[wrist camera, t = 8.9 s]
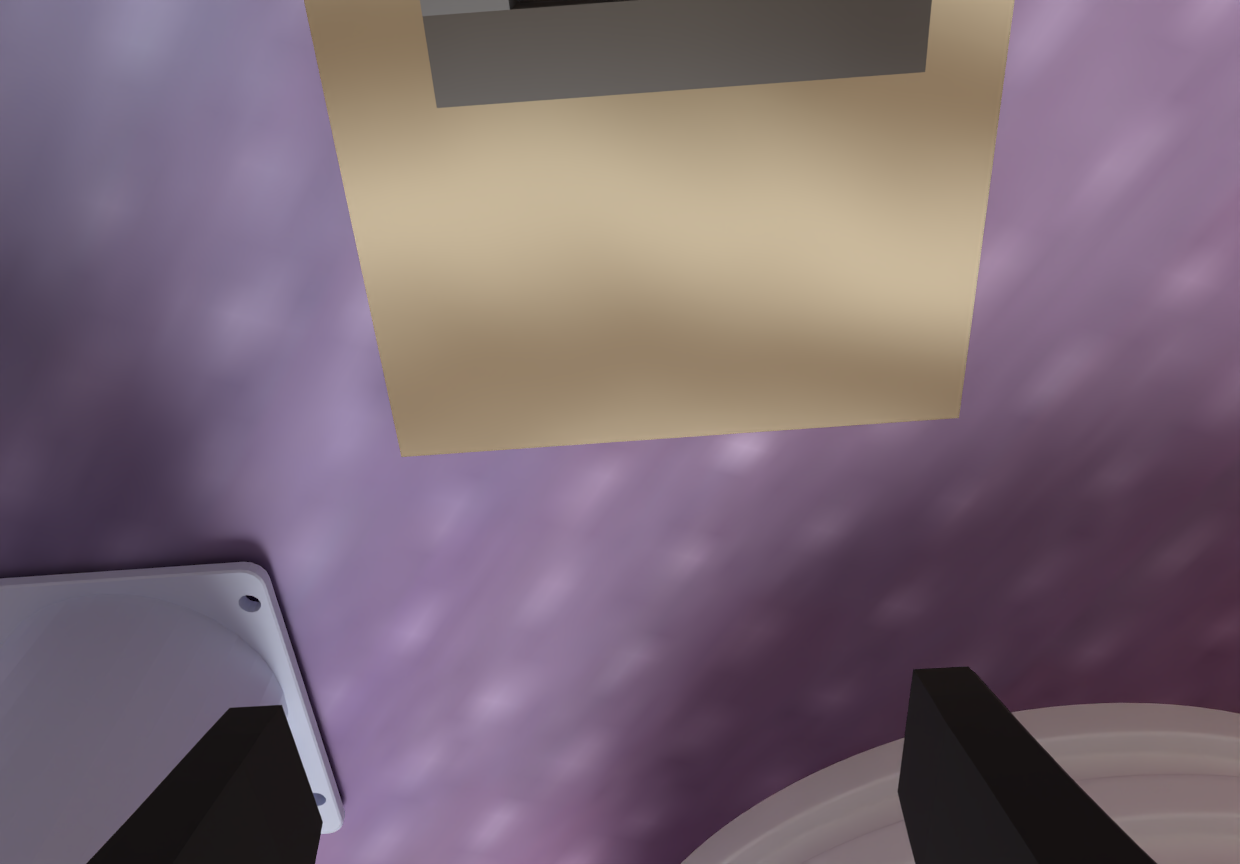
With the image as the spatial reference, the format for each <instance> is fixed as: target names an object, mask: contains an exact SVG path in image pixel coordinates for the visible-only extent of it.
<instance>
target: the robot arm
mask: <svg viewBox="0 0 1240 864" xmlns="http://www.w3.org/2000/svg"><path fill="white" fill-rule="evenodd" d="M245 595H250V596H254V597H256V598H257V599H258V600H259V602H256V601H251V600H250V599H248V598H247V597H246V596H245ZM319 793H320V794H319ZM898 796H899V800H900V804H901V809H902V813H903V817H904V821H905V825H906V829H907V833H908V837H909V842H910V845H911V849H912V853H913V857H914V861H915V864H1157V863H1156V862H1155V861H1154V860H1153V859H1152V858H1151V857H1150V856H1149V855H1148V854H1147V853H1146V852H1145V851H1144V850H1142V849H1141V848H1140V847H1139V846H1138V845H1137V844H1136V843H1135V842H1134V841H1133V840H1132V839H1131V838H1130V837H1129V836H1128V835H1127V834H1126V833H1125V832H1124V831H1123V830H1122V829H1121V828H1120V827H1119V826H1118V825H1117V824H1116V823H1115V822H1114V821H1113V820H1112V819H1111V818H1110V817H1109V816H1108V815H1107V814H1106V813H1105V812H1104V811H1103V810H1102V808H1101V807H1100V806H1099V805H1098V804H1097V803H1096V802H1095V801H1094V800H1093V799H1092V798H1091V797H1090V796H1089V795H1088V794H1087V793H1086V792H1085V791H1084V790H1083V789H1082V788H1081V787H1080V786H1079V785H1078V784H1077V783H1076V782H1075V781H1074V780H1073V779H1072V778H1071V777H1070V776H1069V775H1068V774H1067V773H1066V772H1065V770H1064V769H1063V768H1062V767H1061V766H1060V765H1059V764H1058V763H1057V762H1056V761H1055V760H1054V759H1053V758H1052V757H1051V756H1050V754H1049V753H1048V752H1047V751H1046V750H1045V749H1044V748H1043V747H1042V746H1041V745H1040V744H1039V743H1038V742H1037V741H1036V739H1035V738H1034V737H1033V736H1032V735H1031V734H1030V733H1029V732H1028V731H1027V730H1026V729H1025V727H1024V726H1023V725H1022V724H1021V723H1020V722H1019V721H1018V720H1017V719H1016V718H1015V716H1014V715H1013V714H1012V713H1011V712H1010V711H1009V710H1008V709H1007V708H1006V706H1005V705H1004V704H1003V703H1002V702H1001V701H1000V700H999V699H998V698H997V696H996V695H995V694H994V693H993V692H992V691H991V690H990V689H989V688H988V686H987V685H986V684H985V683H984V682H983V681H982V680H981V679H980V678H979V676H978V675H977V674H976V673H975V672H973V671H972V670H971V669H970V668H969V667H950V668H932V669H915V670H913V676H912V684H911V692H910V699H909V707H908V715H907V722H906V730H905V738H904V745H903V753H902V761H901V768H900V776H899V784H898ZM344 818H345V810H344V807H343V804H342V801H341V798H340V795H339V792H338V788H337V785H336V782H335V779H334V776H333V773H332V770H331V767H330V763H329V760H328V757H327V754H326V751H325V748H324V745H323V742H322V739H321V735H320V732H319V729H318V726H317V723H316V720H315V717H314V714H313V711H312V707H311V704H310V701H309V698H308V695H307V692H306V689H305V686H304V682H303V679H302V676H301V673H300V670H299V667H298V664H297V661H296V658H295V654H294V651H293V648H292V645H291V642H290V639H289V636H288V633H287V629H286V626H285V623H284V620H283V617H282V614H281V611H280V608H279V605H278V601H277V598H276V595H275V592H274V589H273V586H272V583H271V580H270V577H269V575H268V573H267V572H266V570H265V569H263V568H262V567H261V566H260V565H257V564H254V563H252V562H233V563H218V564H204V565H189V566H175V567H160V568H146V569H131V570H117V571H102V572H88V573H73V574H59V575H44V576H30V577H15V578H1V579H0V864H315V860H316V855H317V850H318V845H319V840H320V835H321V834H327V833H332V832H335V831H337V830H339V829H340V828H341V826H342V825H343V821H344Z"/></svg>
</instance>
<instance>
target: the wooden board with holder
mask: <svg viewBox="0 0 1240 864" xmlns="http://www.w3.org/2000/svg"><path fill="white" fill-rule="evenodd" d="M304 3H305V8H306V12H307V17H308V22H309V26H310V31H311V36H312V40H313V45H314V50H315V54H316V59H317V64H318V68H319V73H320V78H321V82H322V87H323V92H324V96H325V101H326V106H327V110H328V115H329V120H330V125H331V129H332V134H333V139H334V143H335V148H336V153H337V157H338V162H339V167H340V171H341V176H342V181H343V185H344V190H345V195H346V199H347V204H348V209H349V213H350V218H351V223H352V227H353V232H354V237H355V241H356V246H357V251H358V256H359V260H360V265H361V270H362V274H363V279H364V284H365V288H366V293H367V298H368V302H369V307H370V312H371V316H372V321H373V326H374V330H375V335H376V340H377V344H378V349H379V354H380V358H381V363H382V368H383V372H384V377H385V382H386V386H387V391H388V396H389V401H390V405H391V410H392V415H393V419H394V424H395V429H396V433H397V438H398V443H399V447H400V452H401V457H407V456H421V455H435V454H450V453H464V452H478V451H493V450H507V449H521V448H535V447H550V446H564V445H578V444H593V443H607V442H621V441H635V440H650V439H664V438H678V437H693V436H707V435H721V434H736V433H750V432H764V431H778V430H793V429H807V428H821V427H836V426H850V425H864V424H878V423H893V422H907V421H921V420H936V419H950V418H959V413H960V405H961V398H962V390H963V383H964V375H965V368H966V360H967V353H968V345H969V338H970V330H971V323H972V315H973V308H974V300H975V293H976V285H977V278H978V270H979V263H980V255H981V248H982V240H983V233H984V225H985V218H986V210H987V203H988V195H989V188H990V180H991V173H992V165H993V158H994V150H995V143H996V135H997V128H998V120H999V113H1000V105H1001V97H1002V90H1003V82H1004V75H1005V67H1006V60H1007V52H1008V45H1009V37H1010V30H1011V22H1012V15H1013V7H1014V0H304Z"/></svg>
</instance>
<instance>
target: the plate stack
mask: <svg viewBox="0 0 1240 864" xmlns="http://www.w3.org/2000/svg"><path fill="white" fill-rule="evenodd" d="M1011 713H1012V714H1013V715H1014V716H1015V718H1016V719H1017V720H1018V721H1019V722H1020V723H1021V724H1022V725H1023V726H1024V727H1025V729H1026V730H1027V731H1028V732H1029V733H1030V734H1031V735H1032V736H1033V737H1034V738H1035V739H1036V741H1037V742H1038V743H1039V744H1040V745H1041V746H1042V747H1043V748H1044V749H1045V750H1046V751H1047V752H1048V753H1049V754H1050V756H1051V757H1052V758H1053V759H1054V760H1055V761H1056V762H1057V763H1058V764H1059V765H1060V766H1061V767H1062V768H1063V769H1064V770H1065V772H1066V773H1067V774H1068V775H1069V776H1070V777H1071V778H1072V779H1073V780H1074V781H1075V782H1076V783H1077V784H1078V785H1079V786H1080V787H1081V788H1082V789H1083V790H1084V791H1085V792H1086V793H1087V794H1088V795H1089V796H1090V797H1091V798H1092V799H1093V800H1094V801H1095V802H1096V803H1097V804H1098V805H1099V806H1100V807H1101V808H1102V810H1103V811H1104V812H1105V813H1106V814H1107V815H1108V816H1109V817H1110V818H1111V819H1112V820H1113V821H1114V822H1115V823H1116V824H1117V825H1118V826H1119V827H1120V828H1121V829H1122V830H1123V831H1124V832H1125V833H1126V834H1127V835H1128V836H1129V837H1130V838H1131V839H1132V840H1133V841H1134V842H1135V843H1136V844H1137V845H1138V846H1139V847H1140V848H1141V849H1142V850H1144V851H1145V852H1146V853H1147V854H1148V855H1149V856H1150V857H1151V858H1152V859H1153V860H1154V861H1155V862H1156V863H1157V864H1240V714H1239V713H1233V712H1228V711H1222V710H1216V709H1209V708H1202V707H1194V706H1183V705H1172V704H1154V703H1097V704H1078V705H1067V706H1055V707H1046V708H1038V709H1030V710H1023V711H1017V712H1011ZM903 745H904V738H902V739H899V740H896V741H893V742H890V743H887V744H884V745H881V746H878V747H875V748H873V749H870V750H867V751H865V752H862V753H859V754H857V755H854V756H852V757H849V758H847V759H845V760H842V761H840V762H837V763H835V764H833V765H831V766H828V767H826V768H824V769H822V770H820V771H817V772H815V773H813V774H811V775H809V776H807V777H805V778H803V779H801V780H799V781H797V782H795V783H793V784H791V785H790V786H788V787H786V788H784V789H782V790H780V791H778V792H777V793H775V794H773V795H772V796H770V797H768V798H766V799H765V800H763V801H761V802H760V803H758V804H756V805H755V806H753V807H752V808H750V809H749V810H747V811H746V812H744V813H743V814H741V815H740V816H738V817H737V818H735V819H734V820H733V821H731V822H730V823H728V824H727V825H726V826H724V827H723V828H721V829H720V830H719V831H718V832H716V833H715V834H714V835H712V836H711V837H710V838H709V839H707V840H706V841H705V842H704V843H703V844H702V845H700V846H699V847H698V848H697V849H696V850H695V851H693V852H692V853H691V854H690V855H689V856H688V857H687V858H686V859H685V860H684V861H683V862H682V863H681V864H915V861H914V857H913V853H912V849H911V845H910V842H909V837H908V833H907V829H906V825H905V821H904V817H903V813H902V809H901V804H900V800H899V796H898V784H899V776H900V768H901V761H902V753H903Z"/></svg>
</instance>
